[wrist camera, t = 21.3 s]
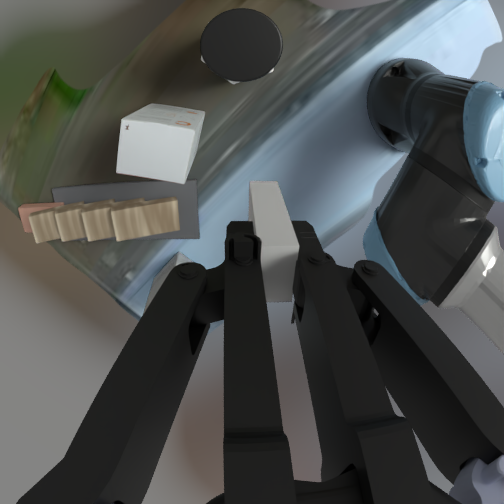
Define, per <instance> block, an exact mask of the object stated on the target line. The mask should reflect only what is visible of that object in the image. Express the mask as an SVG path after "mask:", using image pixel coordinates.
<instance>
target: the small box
mask: <svg viewBox="0 0 504 504" xmlns="http://www.w3.org/2000/svg"><path fill="white" fill-rule="evenodd" d="M204 116H205V112H204V111H199V110H194V109H189V108H183V107H176V106H170V105H163V104H154V103H151V104H149V105H147V106H145V107H143V108H141V109H139V110H137V111H136V112H134V113H132V114H130V115H128V116H126V117H124V118H123V119H121V128H120V137H119V146H118V157H117V168H116V173H118V174H125V175H131V176H137V177H144V178H149V179H155V180H161V181H167V182H173V183H179V184H185V182H186V179H187V176H188V173H189V171H190V168H191V166H192V163H193V160H194V158H195V155H196V152H197V148H198V143H199V138H200V134H201V129H202V125H203V120H204Z"/></svg>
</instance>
